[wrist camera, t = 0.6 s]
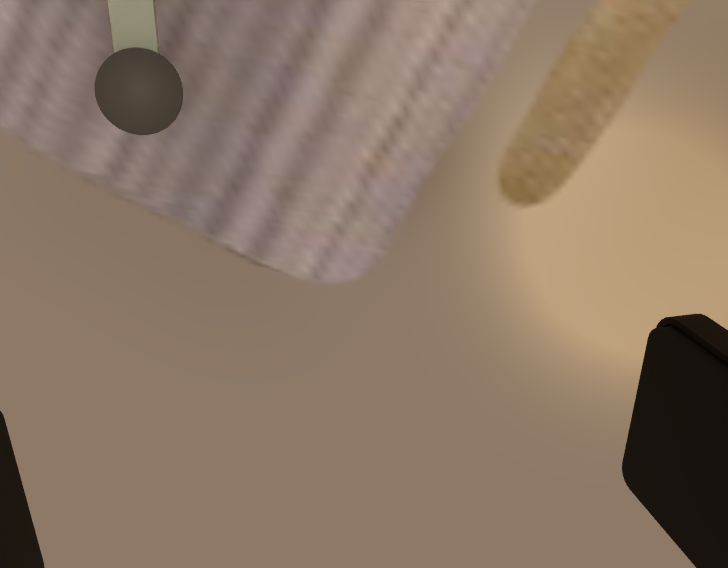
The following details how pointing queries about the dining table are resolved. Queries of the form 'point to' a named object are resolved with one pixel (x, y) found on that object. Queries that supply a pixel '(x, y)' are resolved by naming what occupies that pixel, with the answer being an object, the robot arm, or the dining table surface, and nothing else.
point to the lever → (137, 72)
